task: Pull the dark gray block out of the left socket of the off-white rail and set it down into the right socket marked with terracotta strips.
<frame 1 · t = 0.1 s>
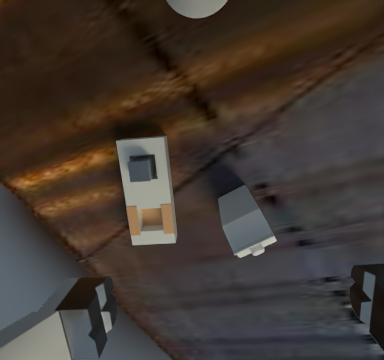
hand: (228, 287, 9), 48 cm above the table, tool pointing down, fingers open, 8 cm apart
socket rail: (151, 189, 58), on the table
milk carton: (238, 203, 58), on the table
dark gray block: (146, 164, 56), point 1 cm above the table, touching socket rail
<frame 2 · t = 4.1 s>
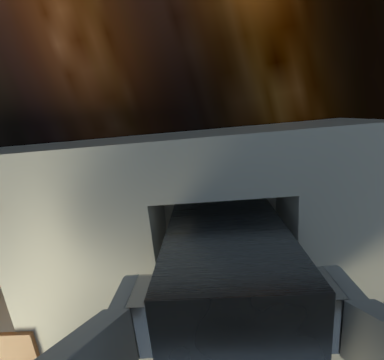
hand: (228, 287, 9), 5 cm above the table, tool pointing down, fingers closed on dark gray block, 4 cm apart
socket rail: (111, 229, 14), on the table
dark gray block: (220, 231, 13), point 1 cm above the table, touching gripper, socket rail
when the fingers open (6 cm above the table, at t = 10.0 s): dark gray block stays where it is, resting on socket rail.
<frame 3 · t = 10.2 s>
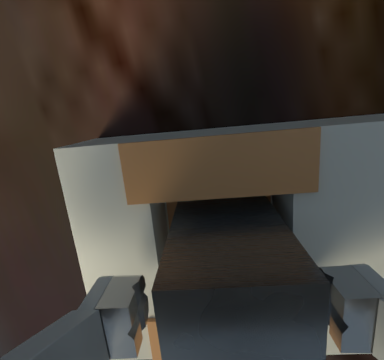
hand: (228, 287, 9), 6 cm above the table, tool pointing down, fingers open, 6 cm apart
socket rail: (329, 212, 14), on the table
dark gray block: (222, 229, 13), point 1 cm above the table, touching socket rail
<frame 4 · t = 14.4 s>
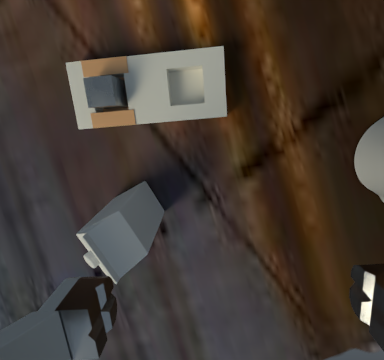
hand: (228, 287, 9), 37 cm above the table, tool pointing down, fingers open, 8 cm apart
socket rail: (152, 92, 42), on the table
milk carton: (140, 204, 48), on the table
dark gray block: (116, 95, 42), point 1 cm above the table, touching socket rail
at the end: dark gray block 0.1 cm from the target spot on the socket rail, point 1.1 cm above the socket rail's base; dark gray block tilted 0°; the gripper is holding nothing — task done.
